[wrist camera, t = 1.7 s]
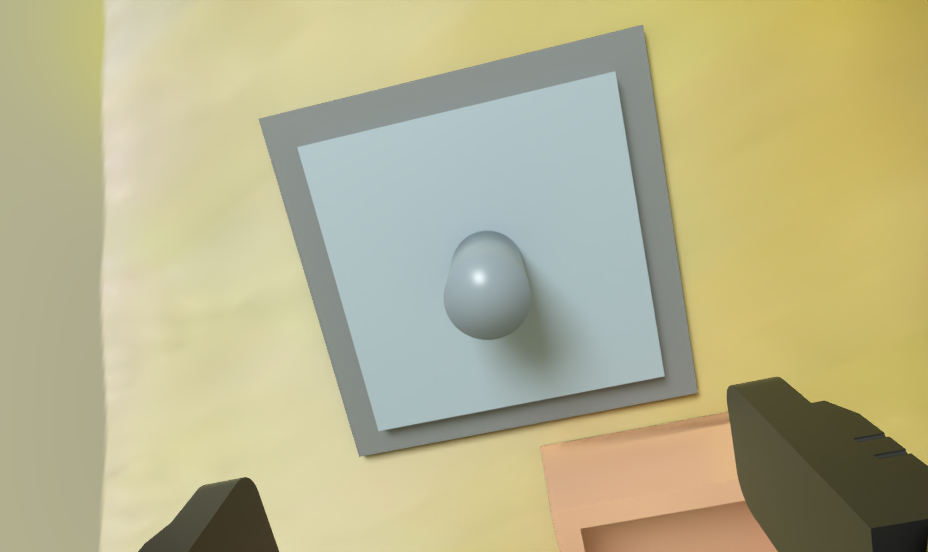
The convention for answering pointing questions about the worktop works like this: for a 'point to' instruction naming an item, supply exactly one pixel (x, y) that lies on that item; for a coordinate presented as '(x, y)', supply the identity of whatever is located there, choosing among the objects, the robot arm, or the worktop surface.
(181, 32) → the worktop surface
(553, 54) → the mat
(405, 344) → the lid
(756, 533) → the dish
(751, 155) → the worktop surface
